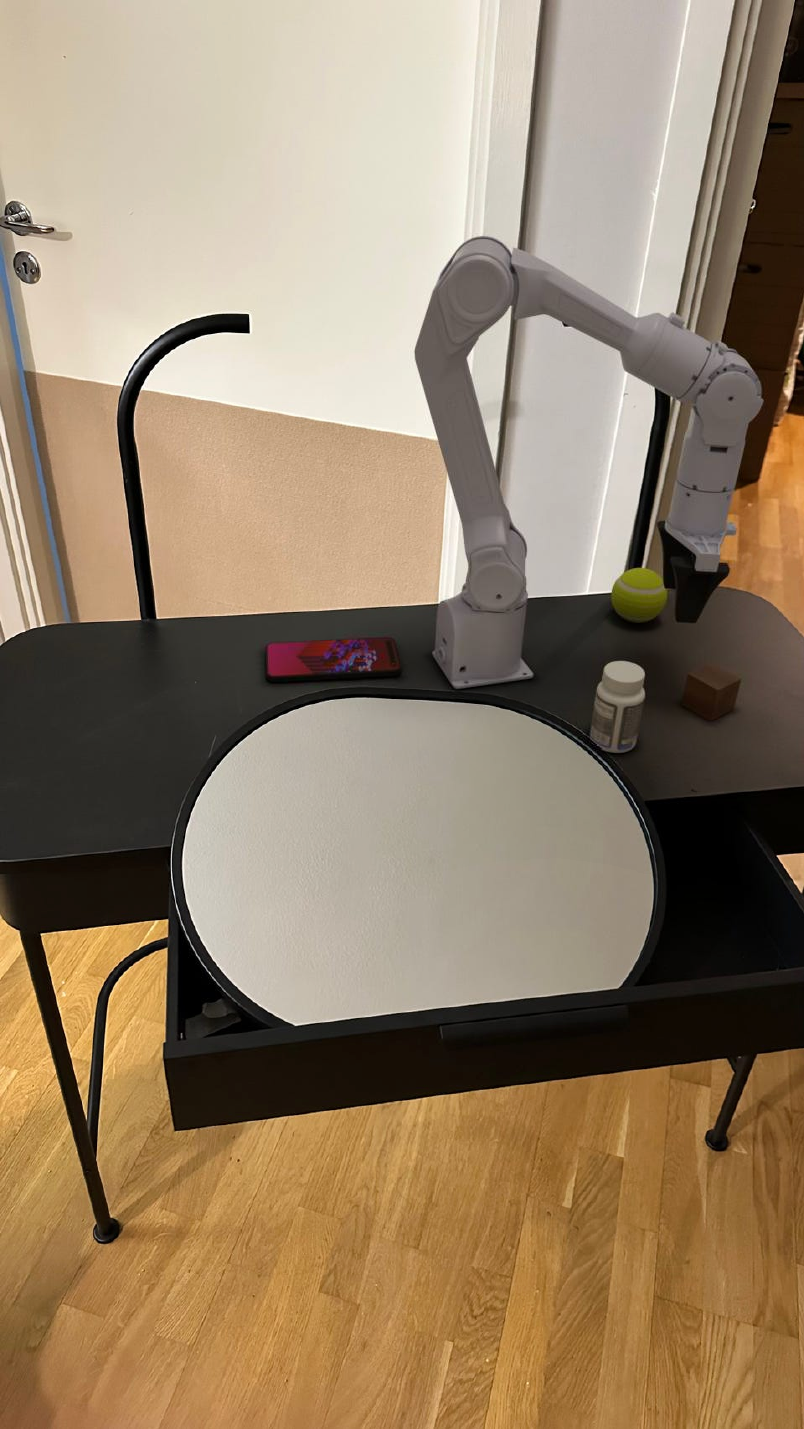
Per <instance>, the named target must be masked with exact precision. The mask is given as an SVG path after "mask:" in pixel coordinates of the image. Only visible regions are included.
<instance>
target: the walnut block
mask: <svg viewBox="0 0 804 1429" xmlns="http://www.w3.org/2000/svg"><path fill="white" fill-rule="evenodd" d="M741 682H742V678H741V677H739V676H737V675H736V674H734V673H732V672H730V671H728V670H726V669H724V668H722V667H720V666H718V665H716V664H715V663H712V662H710V663H708V664H706V665H703V666H702V667H699V668H697V669H695V670H693V671H691V672H688V673H687V675H686V680H685V684H684V685H685V686H684V688H683V694H682V698H681V703H680V706H683V707H684V708H686V709H687V710H689V711H691V712H693V713H695V714H696V715H698V716H700V717H702V718H703V719H705V720H707V721H709V722H712V721H714V720H716V719H719V718H720V717H722V716H724V715H726V714H728V713H730V712H732V711H734V710H735V705H736V702H737V699H738V695H739V690H740V687H741Z"/></svg>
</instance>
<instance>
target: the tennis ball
mask: <svg viewBox="0 0 804 1429" xmlns="http://www.w3.org/2000/svg"><path fill="white" fill-rule="evenodd" d="M610 593H611V595H610V598H611V604H612V606H613V608H614V610H615V612H616V613H617V615H618V616H620V617H621V618H622V619H624V620H626V621H627V622H630V623H637V624H638V623H640V624H641V623H646V622H649V621H652V620H653V619H655V618H656V617H657V616H658V615H659V614H661V613H662V611H663V610H664V608H665V606H666V604H667V599H668V589H665V588H664V584H663V577H661V575H659V574H658V573H657V572H656V571H653V570H652V569H649V568H645V567H635V568H631V569H627V570H626V571H625V572H623V573H622V574H621V575H620V576H619V577H618V578H617V579H616V580H615V581H614V583H613V585H612V588H611V592H610Z"/></svg>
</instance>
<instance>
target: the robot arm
mask: <svg viewBox="0 0 804 1429" xmlns="http://www.w3.org/2000/svg"><path fill="white" fill-rule="evenodd" d="M511 307H514V308H513V309H514V310H513V320H522V319H527V318H532V317H537V316H542V315H546V316H549V317H551V318H553V319H555V320H557V321H559V322H561V323H562V324H565V325H567V326H568V327H571V328H573V329H575V330H576V331H579V332H581V333H583V334H585V335H586V336H589V337H591V338H593V339H595V340H596V341H598V342H601V343H603V344H604V345H606V346H609V347H610V348H612V349H614V350H616V351H618V352H619V354H620V359H621V364H622V369H623V370H624V372H626V373H627V374H630V375H631V376H633V377H635V378H637V379H639V380H640V381H642V382H644V383H645V384H647V385H649V386H651V387H653V388H654V389H656V390H658V391H660V392H662V393H664V394H665V395H667V396H669V397H671V398H673V399H674V400H676V401H679V402H680V403H687V404H693V405H692V406H691V409H690V414H689V420H688V425H687V429H686V430H685V434H684V438H683V443H682V447H681V453H680V458H679V462H678V467H677V472H676V478H675V482H674V487H673V493H672V497H671V503H670V508H669V513H668V515H667V517H666V519H665V520H659V521H657V523H656V526H657V530H658V533H659V537H660V543H661V550H662V552H661V553H662V579H663V584H664V588H665V589H667V590H675V595H674V596H675V597H674V618H675V622H676V623H681V624H682V623H685V624H696V623H697V622H698V620H699V618H700V617H701V615H702V613H703V611H704V609H705V607H706V605H707V603H708V601H709V600H710V598H711V596H712V594H713V593H714V592H715V590H716V589H717V588H718V587H719V585H720V584H721V583H722V582H724V581H725V580H726V579H727V578H728V577H729V575H730V571H731V568H730V565H729V564H728V562H723V561H721V562H720V560H721V551H720V550H721V548H722V545H723V543H724V540H725V538H726V537H727V536H736V535H737V532H738V527H737V525H736V524H735V523H734V522H732V521H728V517H729V515H730V514H729V513H730V510H731V505H732V500H733V496H734V492H735V489H736V484H737V480H738V476H739V471H740V466H741V462H742V458H743V454H744V450H745V445H746V436H747V432H748V427H749V423H750V422H752V421H753V420H754V419H755V418H756V416H757V415H758V414H759V412H760V411H761V408H762V407H763V404H764V399H763V398H762V394H763V393H762V390H763V389H762V384H761V381H760V379H759V377H758V375H757V374H756V372H755V371H754V370H753V368H752V367H751V365H750V364H749V362H748V361H747V360H746V359H745V358H744V357H742V356H741V355H740V354H739V353H738V351H737V350H736V349H733V348H729V347H728V346H727V344H725V343H724V342H722V341H720V340H717V341H716V342H715V343H713V342H711V341H709V340H707V339H706V338H704V337H702V336H701V335H698V334H697V333H695V332H693V331H691V330H690V329H688V328H686V327H684V325H685V323H686V321H685V319H684V317H682V316H680V315H679V314H677V313H675V312H674V311H673V312H670V314H669V315H668V317H667V316H666V315H663V314H662V313H660V312H653V313H650V314H647V315H643V316H638V317H636V316H635V315H633V314H631V313H630V312H628V311H627V310H624V309H623V308H622V307H620V306H619V305H616V303H613V302H612V301H610V300H608V299H607V298H605V297H604V296H602V294H601V295H600V294H599V293H598V292H596V291H595V290H592V289H591V288H590V287H587V285H585V284H583V283H581V281H578V280H576V279H575V278H573V277H571V276H570V275H568V274H567V273H565V272H563V271H562V270H560V269H559V268H557V267H555V266H554V265H552V264H551V263H548V262H546V261H545V260H543V259H541V258H539V257H537V256H535V255H533V254H531V253H529V252H527V251H525V250H523V249H520V248H517V247H512V252H511V250H510V249H509V248H508V246H507V245H506V244H505V243H503V241H502V240H500V239H498V238H495V237H493V236H489V235H481V236H480V235H479V236H474V237H471V238H469V239H467V240H466V241H464V242H462V243H461V244H460V245H459V246H458V247H457V248H456V250H455V252H454V253H453V254H452V256H451V257H450V258H449V260H448V261H447V263H446V264H445V266H444V267H443V268H442V270H441V271H440V273H439V275H438V278H437V281H436V283H435V285H434V287H433V288H432V291H431V294H430V298H429V302H428V304H427V308H426V311H425V315H424V318H423V321H422V324H421V328H420V329H419V334H418V336H417V340H416V343H415V346H414V351H413V352H414V361H415V365H416V369H417V372H418V374H419V379H420V382H421V385H422V388H423V389H422V390H423V392H424V396H425V399H426V403H427V406H428V410H429V413H430V417H431V420H432V424H433V427H434V431H435V434H436V435H435V436H436V438H437V441H438V445H439V449H440V452H441V455H442V460H443V462H444V466H445V469H446V473H447V476H448V480H449V483H450V487H451V490H452V494H453V497H454V502H455V504H456V508H457V512H458V515H459V518H460V523H461V528H462V536H463V537H462V538H463V545H464V546H463V547H464V554H465V558H466V560H467V572H466V577H465V582H464V583H463V584H462V588H461V592H460V593H457V595H455V596H452V597H450V598H447V599H443V600H441V601H439V603H438V605H437V610H436V621H435V640H434V642H435V643H434V650H433V651H432V655H431V656H432V657H433V658H434V660H435V661H436V663H437V665H438V667H440V669H441V670H442V672H443V674H444V675H445V677H446V678H447V680H448V682H449V683H450V684H451V686H452V688H454V689H456V690H461V689H467V688H474V687H480V686H489V685H494V684H502V683H509V682H515V681H522V680H528V679H529V680H530V679H533V678H534V673H533V671H532V670H531V669H530V668H529V666H528V665H527V664H526V663H525V661H524V660H523V659H522V649H523V642H524V633H525V632H524V631H525V626H526V625H525V624H526V614H527V605H528V597H529V593H528V591H527V576H526V559H527V556H528V555H527V554H528V546H527V545H528V544H527V541H526V539H525V537H524V535H523V534H522V533H521V531H519V529H518V528H516V526H515V525H514V523H513V520H512V518H511V513H510V511H509V509H508V507H507V505H506V504H505V502H504V498H503V493H502V489H501V486H500V482H499V478H498V474H497V470H496V467H495V462H494V458H493V454H492V451H491V447H490V443H489V440H488V436H487V432H486V428H485V427H486V426H485V424H484V420H483V416H482V413H481V407H480V405H479V400H478V397H477V394H476V389H475V385H474V382H473V377H472V374H471V370H470V365H469V361H468V357H469V355H470V353H471V352H472V351H473V349H474V347H475V346H476V344H477V342H478V341H479V340H480V337H481V336H482V335H483V334H484V333H485V332H487V331H488V330H490V329H491V328H492V327H493V326H494V325H495V324H496V323H498V322H499V321H500V320H501V319H502V318H503V317H504V316H505V315H506V314H507V312H508V311H509V309H510V308H511Z"/></svg>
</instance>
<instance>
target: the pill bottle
mask: <svg viewBox="0 0 804 1429" xmlns="http://www.w3.org/2000/svg"><path fill="white" fill-rule="evenodd" d="M645 673H646V672H645V670H644V669H643V668H642V667H641V666H640V665H638V664H636V663H634V662H631V661H627V660H616V661H615V660H614V661H611V662H609V663H607V664H606V665H605V666H604V668H603V672H602V676H601V681H600V682H599V683H598V685H597V688H596V692H595V698H594V702H593V704H594V705H593V711H592V718H591V723H590V724H591V725H590V729H589V739H592V741H594V742H595V743H597V746H600V747H601V748H602V750H601V751H603V752H606V753H612V754H613V753H614V754H623V753H627V752H629V751H631V750H632V749H634V748H635V747H636V745H637V740H638V734H639V729H640V725H641V720H642V715H643V714H642V713H643V708H644V703H645V699H646V692H645V688H644V684H645V683H644V682H645V677H646V674H645Z"/></svg>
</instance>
